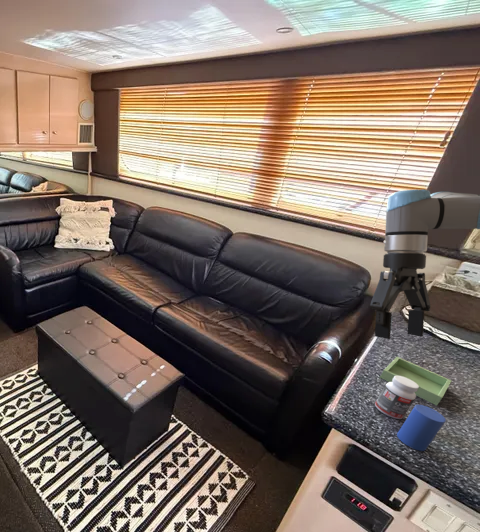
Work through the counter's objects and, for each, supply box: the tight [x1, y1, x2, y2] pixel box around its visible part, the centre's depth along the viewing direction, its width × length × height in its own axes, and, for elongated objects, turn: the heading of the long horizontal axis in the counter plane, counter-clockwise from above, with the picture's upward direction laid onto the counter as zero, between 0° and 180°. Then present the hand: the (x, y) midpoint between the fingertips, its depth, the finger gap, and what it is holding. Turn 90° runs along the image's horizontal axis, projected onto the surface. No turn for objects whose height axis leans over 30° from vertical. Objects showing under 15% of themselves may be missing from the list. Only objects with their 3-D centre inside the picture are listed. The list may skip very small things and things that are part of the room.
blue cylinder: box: [396, 404, 447, 452], centre depth 73 cm, size 5×5×9 cm
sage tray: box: [379, 356, 453, 406], centre depth 96 cm, size 13×15×3 cm
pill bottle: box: [374, 376, 419, 420], centre depth 82 cm, size 6×6×10 cm
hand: (399, 336), depth 80 cm, fingers open, 13 cm apart
